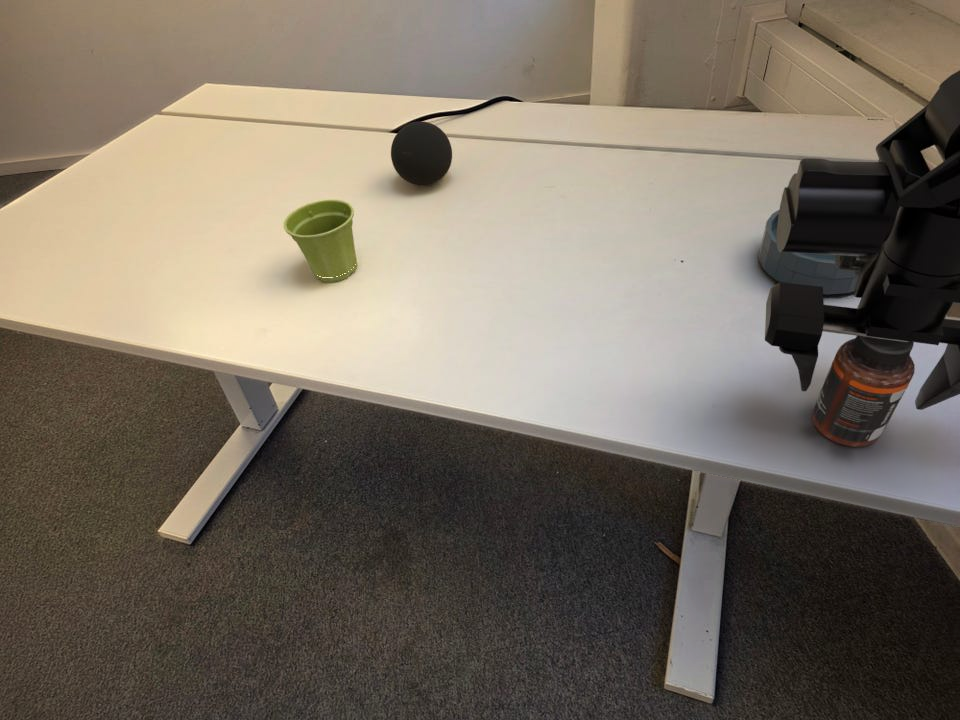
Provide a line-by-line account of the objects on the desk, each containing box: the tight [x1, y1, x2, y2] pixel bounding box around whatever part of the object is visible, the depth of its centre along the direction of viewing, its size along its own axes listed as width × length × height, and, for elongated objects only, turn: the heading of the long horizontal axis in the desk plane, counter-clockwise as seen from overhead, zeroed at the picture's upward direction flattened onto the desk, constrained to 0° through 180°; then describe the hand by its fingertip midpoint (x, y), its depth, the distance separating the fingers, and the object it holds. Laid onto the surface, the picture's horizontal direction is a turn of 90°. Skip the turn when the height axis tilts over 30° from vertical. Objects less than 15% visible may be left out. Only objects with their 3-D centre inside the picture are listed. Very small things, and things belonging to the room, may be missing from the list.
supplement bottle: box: [812, 336, 916, 448], centre depth 54 cm, size 6×6×11 cm
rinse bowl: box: [758, 209, 858, 295], centre depth 74 cm, size 13×13×5 cm
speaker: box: [390, 120, 453, 187], centre depth 99 cm, size 10×10×10 cm
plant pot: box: [283, 199, 358, 283], centre depth 84 cm, size 9×9×9 cm
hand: (859, 396), depth 55 cm, fingers open, 9 cm apart
